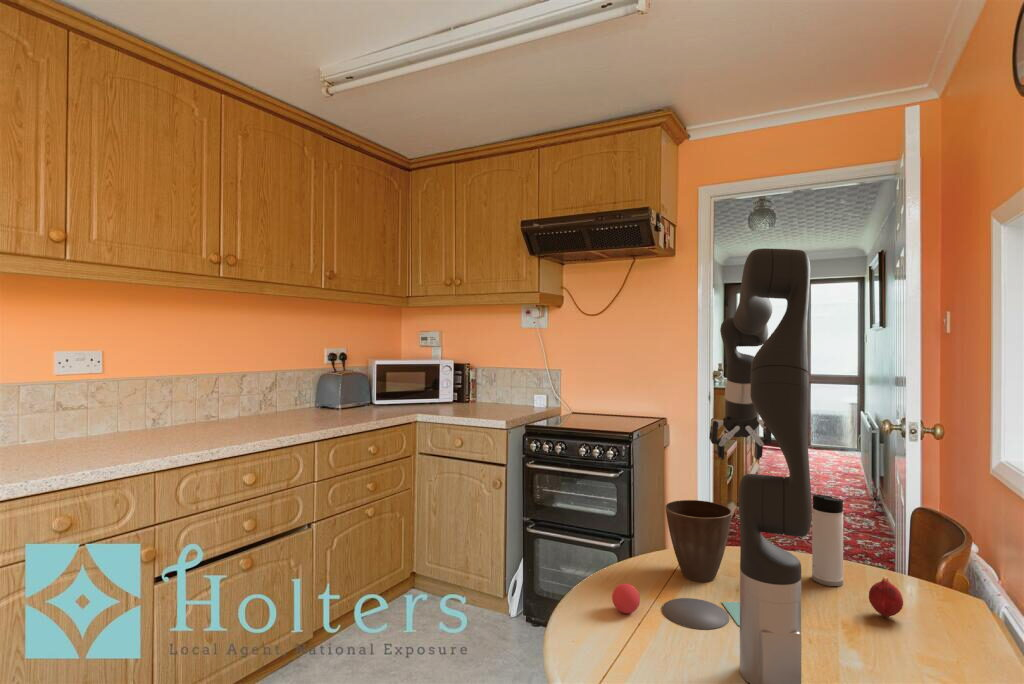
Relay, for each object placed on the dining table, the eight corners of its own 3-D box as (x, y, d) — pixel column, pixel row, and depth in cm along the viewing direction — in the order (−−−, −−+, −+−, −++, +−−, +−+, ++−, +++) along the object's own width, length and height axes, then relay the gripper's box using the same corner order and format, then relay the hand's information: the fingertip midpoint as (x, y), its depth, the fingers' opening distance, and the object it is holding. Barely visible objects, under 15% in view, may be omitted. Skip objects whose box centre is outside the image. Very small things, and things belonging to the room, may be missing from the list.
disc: (738, 630, 109) (738, 629, 109) (670, 628, 110) (670, 627, 110) (717, 599, 122) (717, 598, 122) (656, 598, 123) (656, 597, 123)
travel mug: (805, 578, 133) (805, 493, 133) (824, 574, 136) (824, 490, 136) (829, 589, 128) (830, 500, 127) (849, 584, 130) (849, 496, 130)
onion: (908, 625, 111) (908, 584, 111) (876, 622, 112) (876, 582, 112) (895, 611, 117) (895, 573, 117) (864, 609, 118) (864, 570, 118)
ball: (642, 618, 114) (642, 590, 114) (614, 618, 114) (614, 590, 114) (637, 605, 119) (637, 579, 119) (610, 605, 119) (610, 578, 119)
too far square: (790, 627, 110) (790, 626, 110) (738, 626, 111) (738, 625, 111) (769, 603, 120) (769, 602, 120) (721, 602, 121) (721, 601, 121)
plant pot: (663, 583, 130) (663, 514, 130) (667, 560, 144) (667, 497, 144) (733, 593, 125) (733, 520, 125) (730, 568, 139) (730, 502, 139)
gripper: (714, 402, 137) (713, 465, 140) (777, 402, 135) (773, 465, 139) (708, 392, 144) (706, 452, 148) (767, 391, 142) (764, 452, 146)
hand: (739, 458), depth 143 cm, fingers open, 8 cm apart
